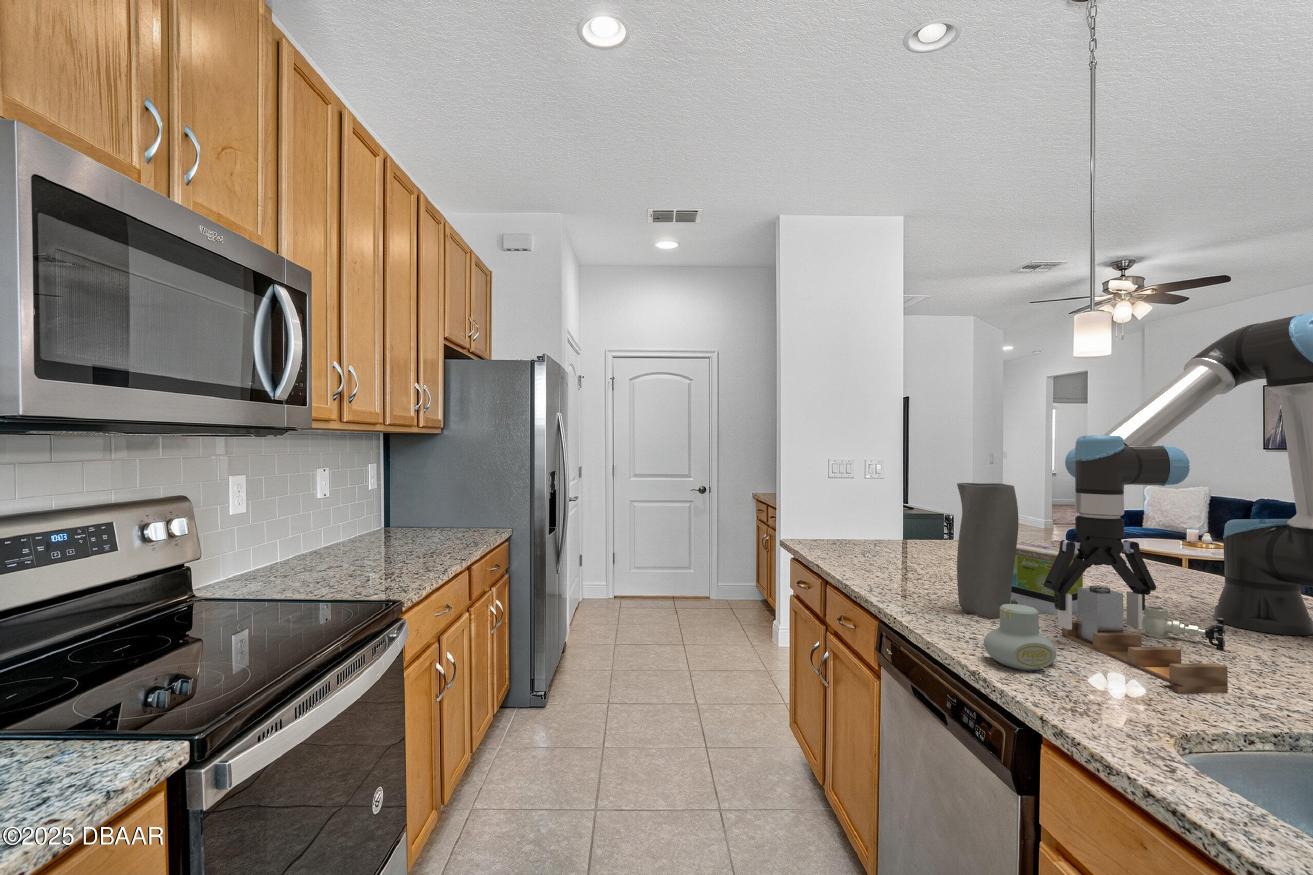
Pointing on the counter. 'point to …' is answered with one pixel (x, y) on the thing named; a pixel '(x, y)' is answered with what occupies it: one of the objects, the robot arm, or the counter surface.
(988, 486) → the vase
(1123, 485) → the robot arm
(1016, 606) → the air freshener
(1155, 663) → the wooden compartment tray
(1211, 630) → the valve
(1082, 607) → the block
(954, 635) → the counter surface
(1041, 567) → the tea box
